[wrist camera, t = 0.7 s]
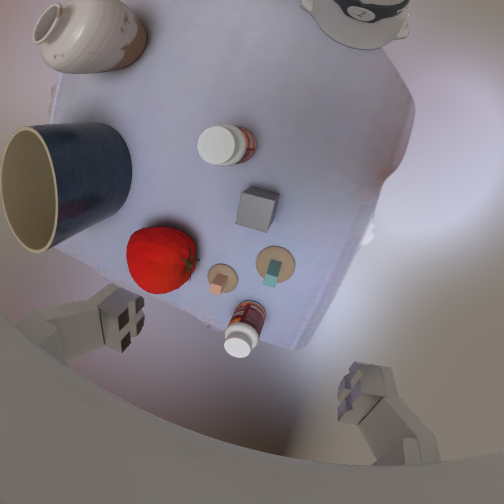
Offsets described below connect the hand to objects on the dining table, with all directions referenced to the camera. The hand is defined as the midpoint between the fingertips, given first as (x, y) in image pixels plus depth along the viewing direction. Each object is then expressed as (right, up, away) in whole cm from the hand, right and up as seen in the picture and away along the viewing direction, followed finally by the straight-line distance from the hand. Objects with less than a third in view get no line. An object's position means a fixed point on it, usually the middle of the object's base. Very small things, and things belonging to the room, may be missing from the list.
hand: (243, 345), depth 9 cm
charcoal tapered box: (+2, +11, +36) cm, 38 cm away
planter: (-34, +21, +41) cm, 57 cm away
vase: (-25, +45, +29) cm, 59 cm away
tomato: (-15, +4, +43) cm, 46 cm away
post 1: (-5, -2, +43) cm, 44 cm away
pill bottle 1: (-2, +21, +33) cm, 40 cm away
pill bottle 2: (0, -9, +45) cm, 46 cm away
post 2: (+5, +1, +40) cm, 40 cm away
